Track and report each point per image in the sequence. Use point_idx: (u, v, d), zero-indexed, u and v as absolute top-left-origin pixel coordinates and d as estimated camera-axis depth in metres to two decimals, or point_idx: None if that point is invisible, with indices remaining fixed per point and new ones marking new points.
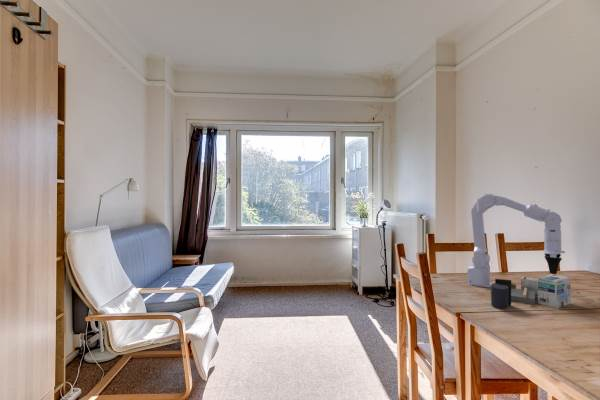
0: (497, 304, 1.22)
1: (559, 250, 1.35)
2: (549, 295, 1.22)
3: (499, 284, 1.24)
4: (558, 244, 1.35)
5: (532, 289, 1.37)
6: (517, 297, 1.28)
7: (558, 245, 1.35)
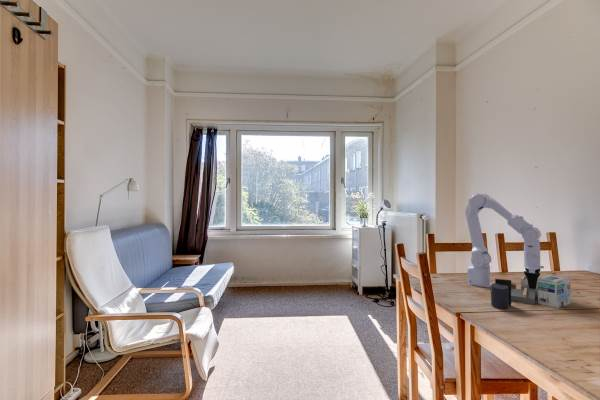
0: (497, 304, 1.22)
1: (538, 265, 1.37)
2: (549, 295, 1.22)
3: (499, 284, 1.24)
4: (537, 259, 1.36)
5: (532, 289, 1.37)
6: (517, 297, 1.28)
7: (537, 260, 1.37)
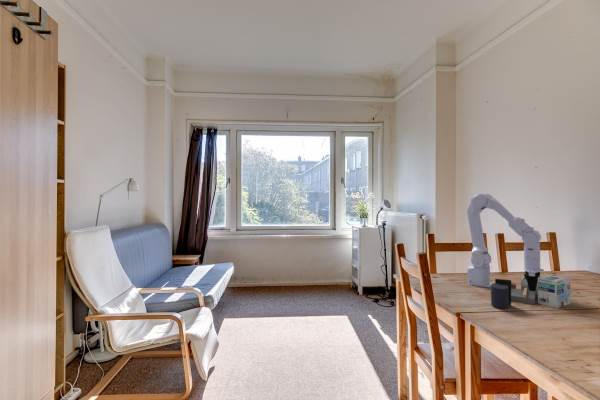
0: (497, 304, 1.22)
1: (538, 268, 1.37)
2: (549, 295, 1.22)
3: (499, 284, 1.24)
4: (537, 262, 1.37)
5: None
6: (517, 297, 1.28)
7: (537, 263, 1.37)
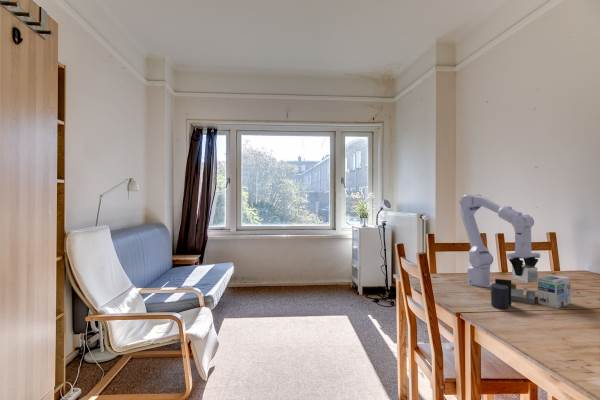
0: (497, 304, 1.22)
1: (523, 253, 1.34)
2: (549, 295, 1.22)
3: (499, 284, 1.24)
4: (522, 247, 1.34)
5: None
6: (517, 297, 1.28)
7: (522, 248, 1.34)
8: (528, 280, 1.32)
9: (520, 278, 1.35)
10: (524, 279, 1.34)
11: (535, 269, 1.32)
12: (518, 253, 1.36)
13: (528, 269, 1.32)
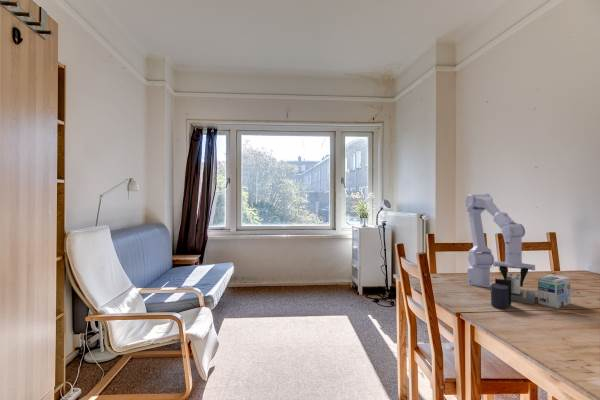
0: (497, 304, 1.22)
1: (508, 262, 1.33)
2: (549, 295, 1.22)
3: (499, 284, 1.24)
4: (507, 256, 1.34)
5: None
6: (517, 297, 1.28)
7: (507, 257, 1.34)
8: None
9: None
10: None
11: (517, 280, 1.29)
12: (505, 262, 1.35)
13: (507, 279, 1.31)
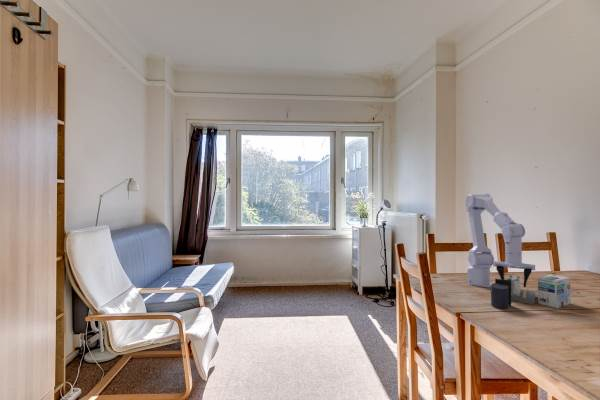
0: (497, 304, 1.22)
1: (508, 262, 1.33)
2: (549, 295, 1.22)
3: (499, 284, 1.24)
4: (507, 256, 1.34)
5: None
6: (517, 297, 1.28)
7: (507, 257, 1.34)
8: None
9: None
10: None
11: (517, 282, 1.29)
12: (505, 262, 1.35)
13: None
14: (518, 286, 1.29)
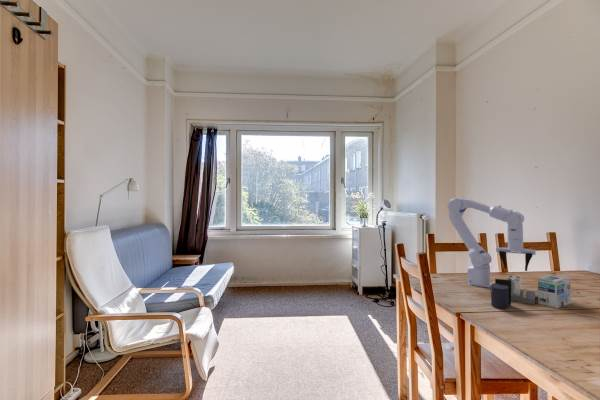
0: (497, 304, 1.22)
1: (510, 248, 1.43)
2: (549, 295, 1.22)
3: (499, 284, 1.24)
4: (509, 242, 1.43)
5: None
6: (517, 297, 1.28)
7: (509, 243, 1.43)
8: None
9: None
10: None
11: (517, 282, 1.29)
12: None
13: None
14: (518, 286, 1.29)
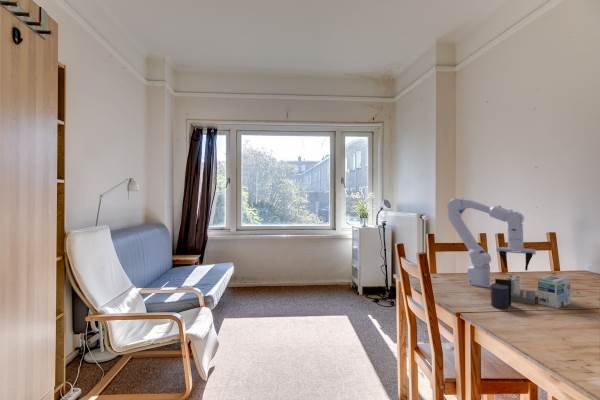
0: (497, 304, 1.22)
1: (510, 247, 1.43)
2: (549, 295, 1.22)
3: (499, 284, 1.24)
4: (509, 242, 1.44)
5: None
6: (517, 297, 1.28)
7: (509, 243, 1.44)
8: None
9: None
10: None
11: (517, 282, 1.29)
12: (508, 247, 1.45)
13: None
14: (518, 286, 1.29)
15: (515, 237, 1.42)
